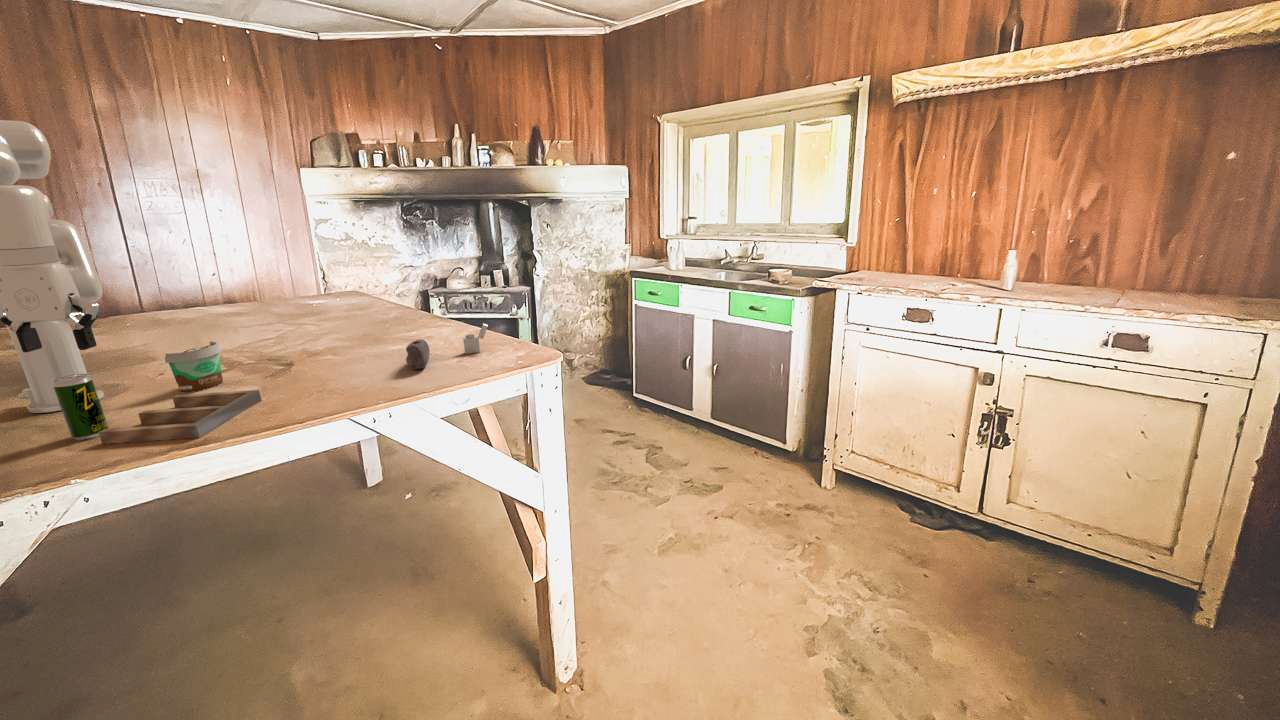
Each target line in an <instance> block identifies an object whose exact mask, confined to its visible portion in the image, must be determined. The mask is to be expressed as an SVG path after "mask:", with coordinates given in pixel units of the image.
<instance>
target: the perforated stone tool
mask: <svg viewBox="0 0 1280 720" xmlns="http://www.w3.org/2000/svg"><path fill="white" fill-rule="evenodd" d="M405 351H406V352H407V356H406V359H405V361H406V363H407V365H408V367H409V368H410V369H412V370H422V369H424V368H425V367H427V364H428V363H429V360H430V359H429V358H430V346H429V344H428V342H427V341H426V340H424V339H421V338H420V339H416V340H414V341H412V342H410V343H408V345H407V346H406V348H405Z"/></svg>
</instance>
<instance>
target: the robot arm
mask: <svg viewBox="0 0 1280 720" xmlns="http://www.w3.org/2000/svg"><path fill="white" fill-rule="evenodd" d="M51 159H52V153H51V148H50V145H49V142H48V140H47V138H46V136H45V135H44V134H43V133H42V131H41V130H40V129H39V128H37V127H36V126H35V125H33V124H31V123H29V122H27V121H22V120H5V119H0V321H1V323H3V324H4V325H5V326H6V330H7V331H8V333H9V335H10V338H11V341H12V343H13V346H14V348H15V351H16V354H17V357H18V359H19V361H20V365H21V367H22V369H23V372H24V375H25V377H26V380H27V383H28V386H29V388H24V389H22V391H21V392H20V393H18V394H17V398H18V399H19V400H26V399H27V400H28V399H29V401H30V403H29V404H28V405H27V406H26V409H27V412H29V413H32V414H42V413H43V414H44V413H52V412H59V411H62V410H61V407H60V404H59V401H58V399H57V396H56V393H55V390H54V388H53V385H54V382H53V380H55V379H57V378H60V377H64V376H69V375H75V374H88V372H87V369H86V366H85V363H84V360H83V358H82V355H81V351H85V350H89V349H92V348H95V347H97V344H98V343H97V342H96V338H95V335H94V333H93V329H92V327H94V325H95V321H96V320H97V319H98V317H99V316H98V313H99V308H100V304H98V303H97V301H99V300H101V299H102V296H103V294H104V293H103V292H104V291H103V286H102V285H103V284H102V282H101V279H100V276H99V274H98V272H97V269H96V267H95V266H94V262H93V260H92V257H91V255H90V253H89V250H88V249H87V246H86V243H85V242H84V239H83V236H82V235H81V234H80V233H81V232H79V230H78V228H77V227H76V226H74V224H72V223H70V222H69V221H66V220H61V219H51V218H53V216H54V211H53V205H52V203H51V201H50V199H49V197H48V196H47V195H46V194H43V192H42V191H41V190H39V189H38V188H36V187H34V186H30V185H24V184H23V185H19V184H16V183H17V182H18V181H19V180H37V179H43V178H45V177H47V176H48V174H49V172H50V165H51ZM71 326H72V327H73V328H74V329H72V327H71ZM96 392H97V395H98V398H99V400H101V399H102V398H104V396H105V394H104V391H103V390H100V389H96Z"/></svg>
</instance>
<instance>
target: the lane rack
mask: <svg viewBox="0 0 1280 720" xmlns="http://www.w3.org/2000/svg"><path fill="white" fill-rule="evenodd" d="M171 398H172V401H173V404H174V405H173V406H174V408H169V409H168V408H165V409H151V410H149V409H148V410H142V411H141V412H138V413H137V414H138V418H139V421H140V424H141V425H142V424H146V425H144V426H131V427H118V428H117V427H116V428H108V429H104V430H102V431H100V432H98V433H99V439H100V441H101V445H102V444H103V445H111V444H110V443H118V444H124V443H123V442H132V443H141V442H140V441H147V442H155V441H154V440H162V441H171V440H170V439H176V440H186V439H185V438H191V439H200V438H202V437H204V436H206V435H207V434H208V433H210V432H212V431H213V429H214V430H215V429H217V428H218V427H221V426H222V425H223V424H225V423H227V422H228V421H230V420H231V418H232V419H233V418H235V417H237V416H239V415H240V414H242V413H243V412H245V411H247V410H248V409H250V408H251V407H253V406H254V404H255V405H256V404H258V403H260V402H261V401H262V396H261V393H260V389H252V390H236V391H234V390H233V391H222V392H219V391H218V392H207V393H206V392H203V393H191V394H190V393H189V394H176V395H175V396H172V397H171ZM260 400H261V401H260ZM259 401H260V402H259ZM257 402H258V403H257ZM224 404H225V405H224ZM210 405H214V406H210ZM252 405H253V406H252ZM191 406H198V407H191ZM180 407H183V408H180ZM249 407H250V408H249ZM247 408H248V409H247ZM244 410H245V411H244ZM242 411H243V412H242ZM239 413H240V414H239ZM236 415H237V416H236ZM234 416H235V417H234ZM229 419H230V420H229ZM187 421H192V423H190V422H189V423H188V422H187ZM226 421H227V422H226ZM170 422H176V424H175V423H174V424H171V423H170ZM157 423H161V424H162V425H158V424H157ZM221 424H222V425H221ZM147 425H150V426H147Z"/></svg>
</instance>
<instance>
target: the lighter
mask: <svg viewBox="0 0 1280 720" xmlns="http://www.w3.org/2000/svg"><path fill="white" fill-rule="evenodd" d="M488 326H489V325H488V324H486V323H484V322H483V323H482V326H481V328H480V330H479V333H478V336H475V334H474V333H469V334H468V333H467V334H466V335H465V337H463V338H462V341H463V346H464V347H463V348H464V349H463V350H464V354H465V355H467V354H478V353H481V347H480V341H479V339H481V340H484V337H485V335H486V332H487V330H488Z"/></svg>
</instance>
